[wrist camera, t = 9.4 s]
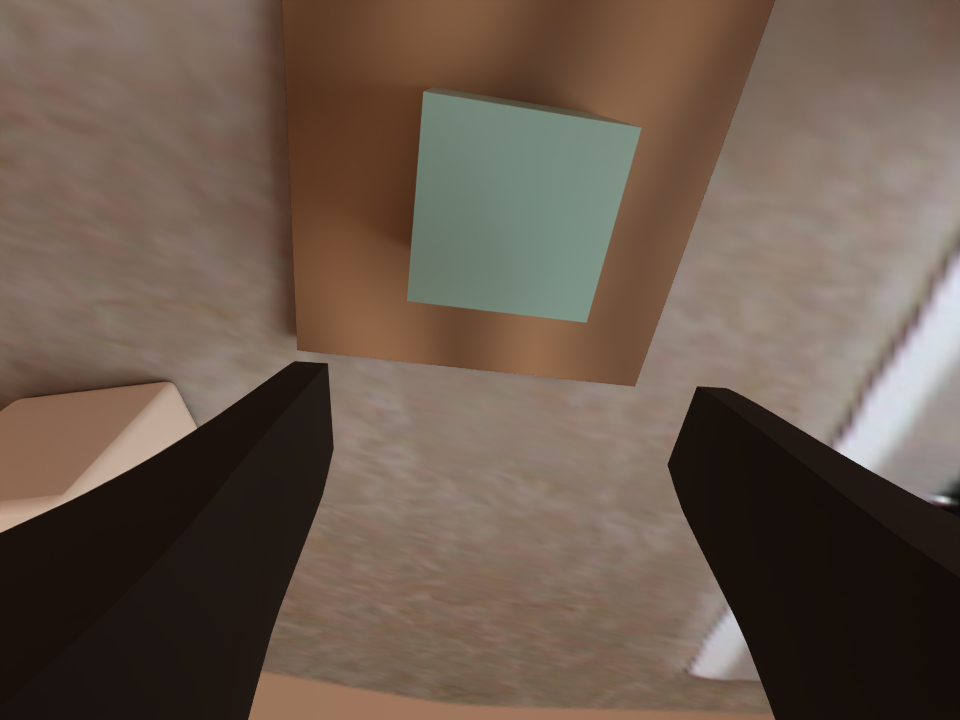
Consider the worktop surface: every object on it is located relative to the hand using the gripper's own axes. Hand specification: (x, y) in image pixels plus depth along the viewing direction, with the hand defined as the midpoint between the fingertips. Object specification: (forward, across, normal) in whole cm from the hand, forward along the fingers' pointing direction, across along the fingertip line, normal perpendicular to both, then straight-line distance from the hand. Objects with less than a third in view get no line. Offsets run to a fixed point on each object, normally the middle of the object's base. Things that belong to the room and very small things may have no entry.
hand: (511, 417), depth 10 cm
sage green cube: (+10, 0, -3) cm, 10 cm away
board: (+10, 0, -2) cm, 11 cm away
